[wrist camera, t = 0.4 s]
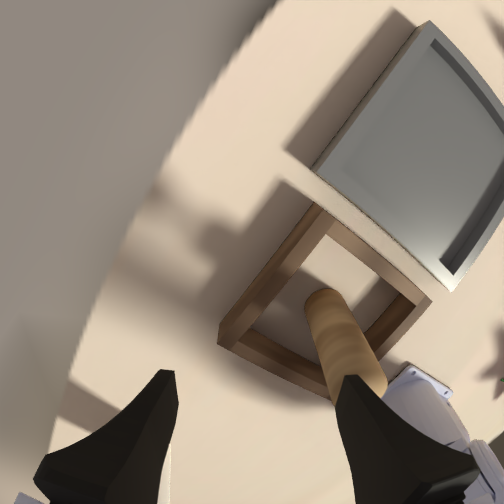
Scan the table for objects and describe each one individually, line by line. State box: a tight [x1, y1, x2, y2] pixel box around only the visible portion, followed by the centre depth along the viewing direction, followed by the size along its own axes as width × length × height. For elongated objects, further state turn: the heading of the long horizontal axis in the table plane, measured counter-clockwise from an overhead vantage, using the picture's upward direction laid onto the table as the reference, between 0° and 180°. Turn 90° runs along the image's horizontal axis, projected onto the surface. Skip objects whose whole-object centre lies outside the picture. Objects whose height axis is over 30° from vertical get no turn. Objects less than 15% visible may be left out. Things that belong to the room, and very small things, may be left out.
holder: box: [217, 202, 432, 401], centre depth 21 cm, size 11×11×2 cm
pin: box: [305, 289, 388, 406], centre depth 18 cm, size 3×3×9 cm
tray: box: [310, 20, 504, 293], centre depth 18 cm, size 14×14×2 cm
